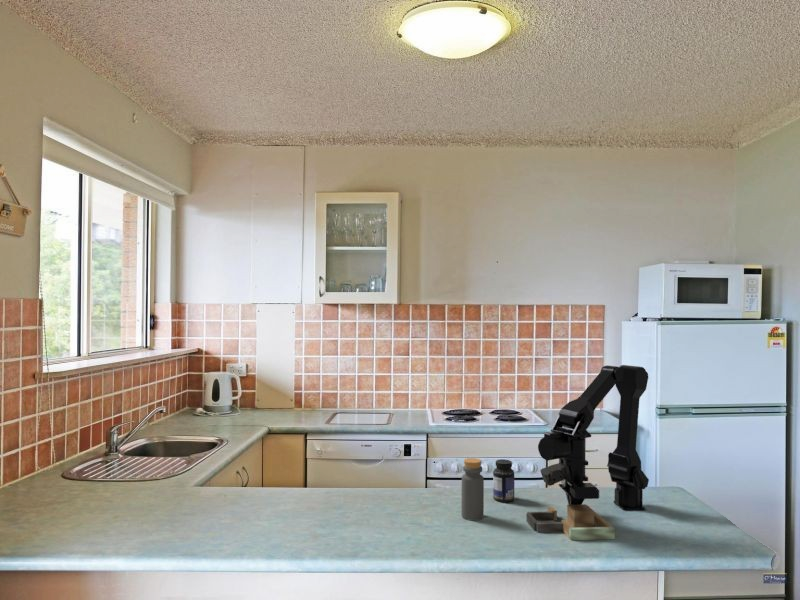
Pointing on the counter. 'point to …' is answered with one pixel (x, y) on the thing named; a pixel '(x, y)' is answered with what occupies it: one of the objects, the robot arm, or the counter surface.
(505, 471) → the pill bottle
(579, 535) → the channel
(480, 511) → the bottle
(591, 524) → the walnut block
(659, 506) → the counter surface
